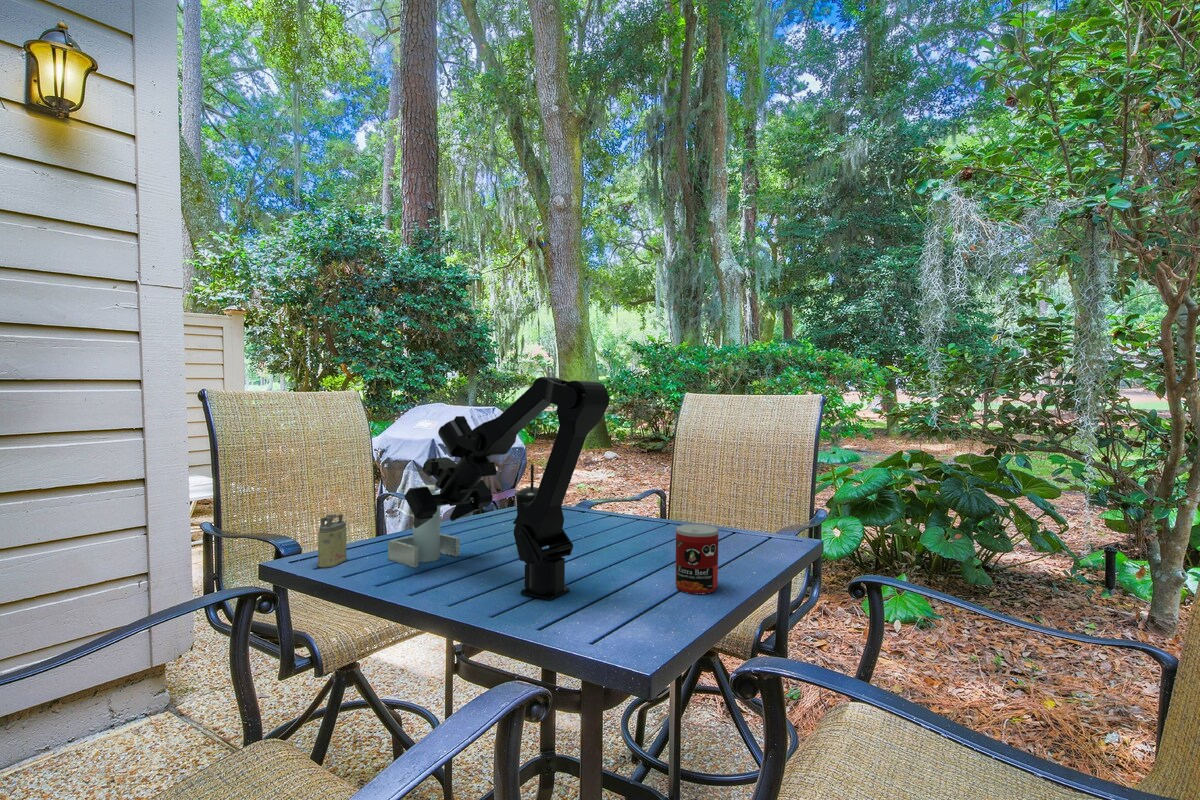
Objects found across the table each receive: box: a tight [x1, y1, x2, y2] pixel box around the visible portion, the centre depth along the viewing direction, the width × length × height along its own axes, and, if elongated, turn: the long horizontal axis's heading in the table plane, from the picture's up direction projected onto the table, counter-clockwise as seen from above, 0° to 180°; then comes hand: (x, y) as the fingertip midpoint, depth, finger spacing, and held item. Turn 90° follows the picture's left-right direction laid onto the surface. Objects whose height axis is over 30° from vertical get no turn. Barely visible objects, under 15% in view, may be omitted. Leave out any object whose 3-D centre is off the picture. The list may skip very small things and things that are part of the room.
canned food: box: [675, 523, 719, 595], centre depth 107 cm, size 8×8×11 cm
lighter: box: [317, 513, 348, 568], centre depth 121 cm, size 7×4×10 cm, turn 171°
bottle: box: [412, 484, 442, 563], centre depth 125 cm, size 6×6×16 cm
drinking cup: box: [514, 463, 544, 550], centre depth 130 cm, size 8×8×20 cm
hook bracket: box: [387, 532, 461, 569], centre depth 126 cm, size 10×12×7 cm
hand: (433, 522), depth 124 cm, fingers open, 9 cm apart
